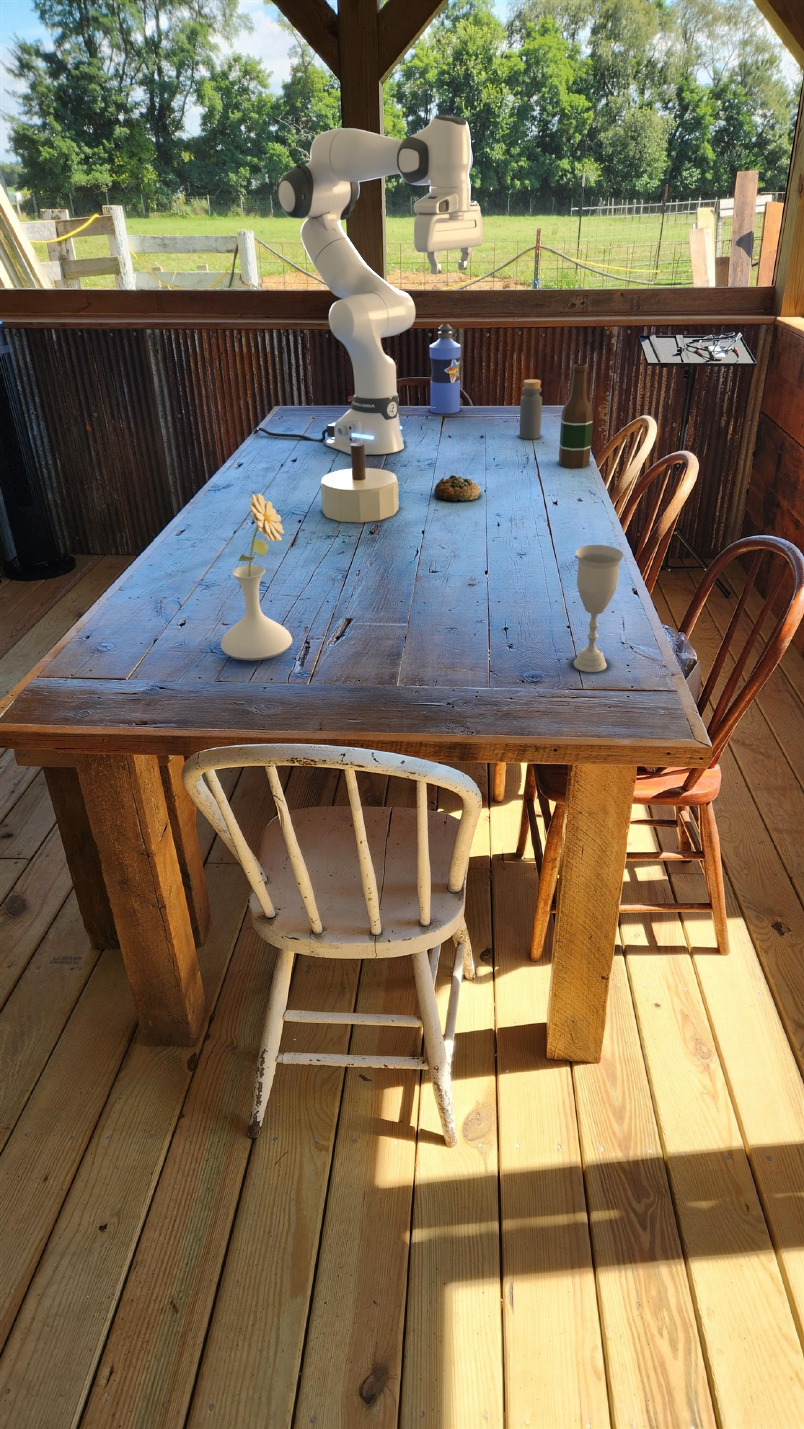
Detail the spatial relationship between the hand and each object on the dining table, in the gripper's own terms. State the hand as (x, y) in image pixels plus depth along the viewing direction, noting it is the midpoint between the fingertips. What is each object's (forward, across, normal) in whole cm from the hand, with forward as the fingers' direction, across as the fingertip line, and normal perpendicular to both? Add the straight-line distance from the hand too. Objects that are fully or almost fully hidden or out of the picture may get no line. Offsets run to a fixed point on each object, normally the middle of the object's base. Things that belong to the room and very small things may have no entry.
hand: (449, 271), depth 216 cm
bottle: (+46, -40, -4) cm, 61 cm away
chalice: (+46, +67, +84) cm, 116 cm away
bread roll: (+46, +13, +14) cm, 50 cm away
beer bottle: (+46, -25, +21) cm, 56 cm away
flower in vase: (+46, +96, +40) cm, 113 cm away
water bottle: (+46, -51, -44) cm, 81 cm away
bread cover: (+46, +35, +4) cm, 58 cm away
